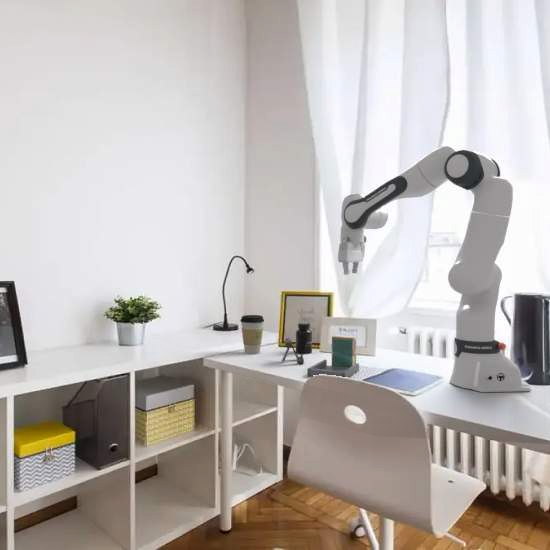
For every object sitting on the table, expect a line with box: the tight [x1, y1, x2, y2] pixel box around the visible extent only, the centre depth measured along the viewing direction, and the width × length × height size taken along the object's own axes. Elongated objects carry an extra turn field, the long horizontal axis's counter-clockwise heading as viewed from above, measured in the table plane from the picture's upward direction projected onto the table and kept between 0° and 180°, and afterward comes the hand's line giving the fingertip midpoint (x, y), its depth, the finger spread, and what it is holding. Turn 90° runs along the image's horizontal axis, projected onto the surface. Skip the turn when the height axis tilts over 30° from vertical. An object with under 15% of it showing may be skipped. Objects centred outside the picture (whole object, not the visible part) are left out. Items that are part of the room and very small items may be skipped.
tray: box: [307, 359, 360, 378], centre depth 166 cm, size 13×15×2 cm
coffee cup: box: [239, 314, 265, 355], centre depth 200 cm, size 10×10×15 cm
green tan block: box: [331, 334, 357, 368], centre depth 174 cm, size 4×8×11 cm, turn 62°
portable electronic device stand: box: [281, 337, 305, 365], centre depth 183 cm, size 9×8×8 cm
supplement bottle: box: [295, 322, 313, 355], centre depth 200 cm, size 7×7×12 cm
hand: (350, 273), depth 187 cm, fingers open, 8 cm apart
